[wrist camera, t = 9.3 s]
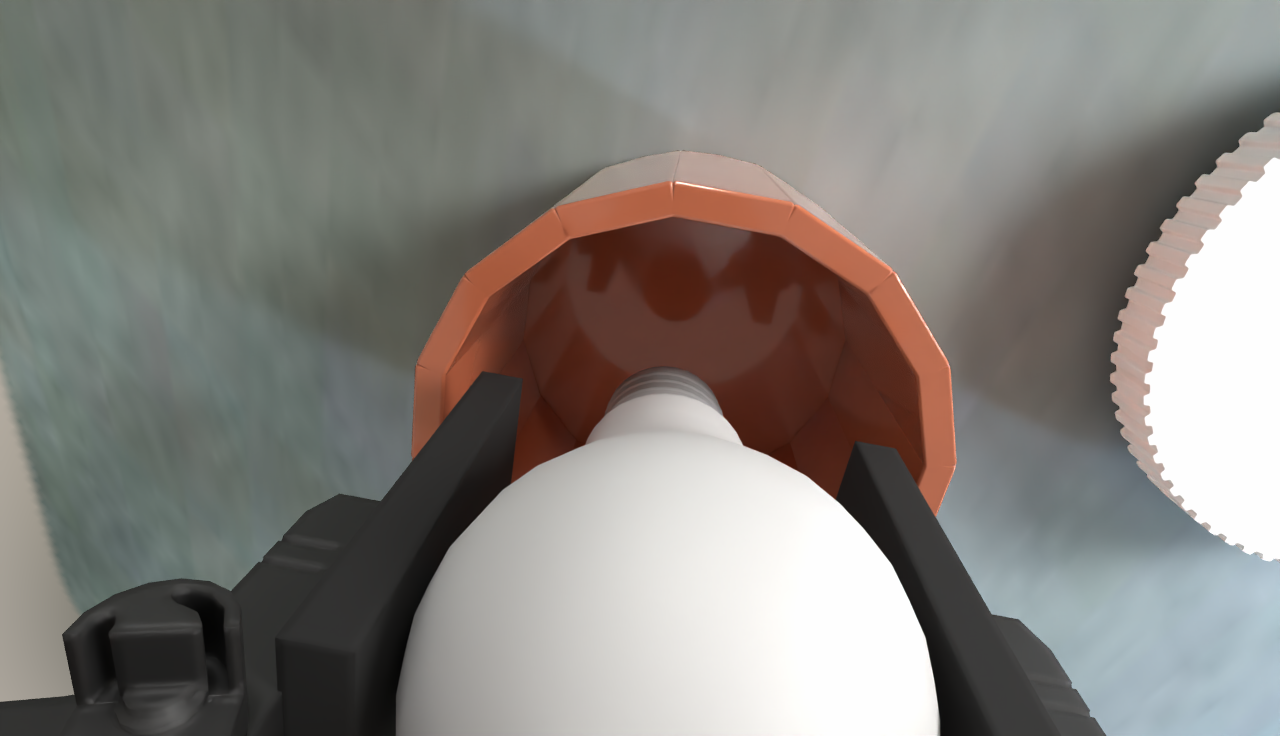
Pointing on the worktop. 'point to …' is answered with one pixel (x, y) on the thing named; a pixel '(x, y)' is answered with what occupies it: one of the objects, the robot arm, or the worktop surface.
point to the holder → (699, 322)
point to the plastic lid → (1211, 350)
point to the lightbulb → (665, 596)
